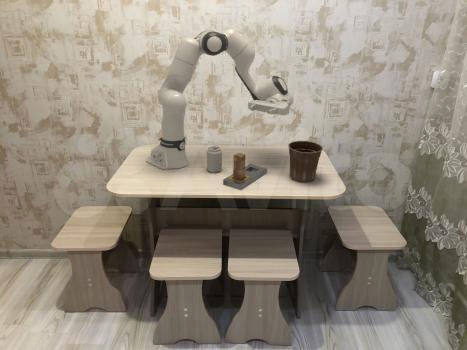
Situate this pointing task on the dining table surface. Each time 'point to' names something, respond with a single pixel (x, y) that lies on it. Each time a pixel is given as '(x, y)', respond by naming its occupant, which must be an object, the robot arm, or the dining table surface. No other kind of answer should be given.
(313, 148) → the plant pot
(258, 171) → the metal plate
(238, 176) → the walnut peg
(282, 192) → the dining table surface
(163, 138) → the robot arm
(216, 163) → the can
